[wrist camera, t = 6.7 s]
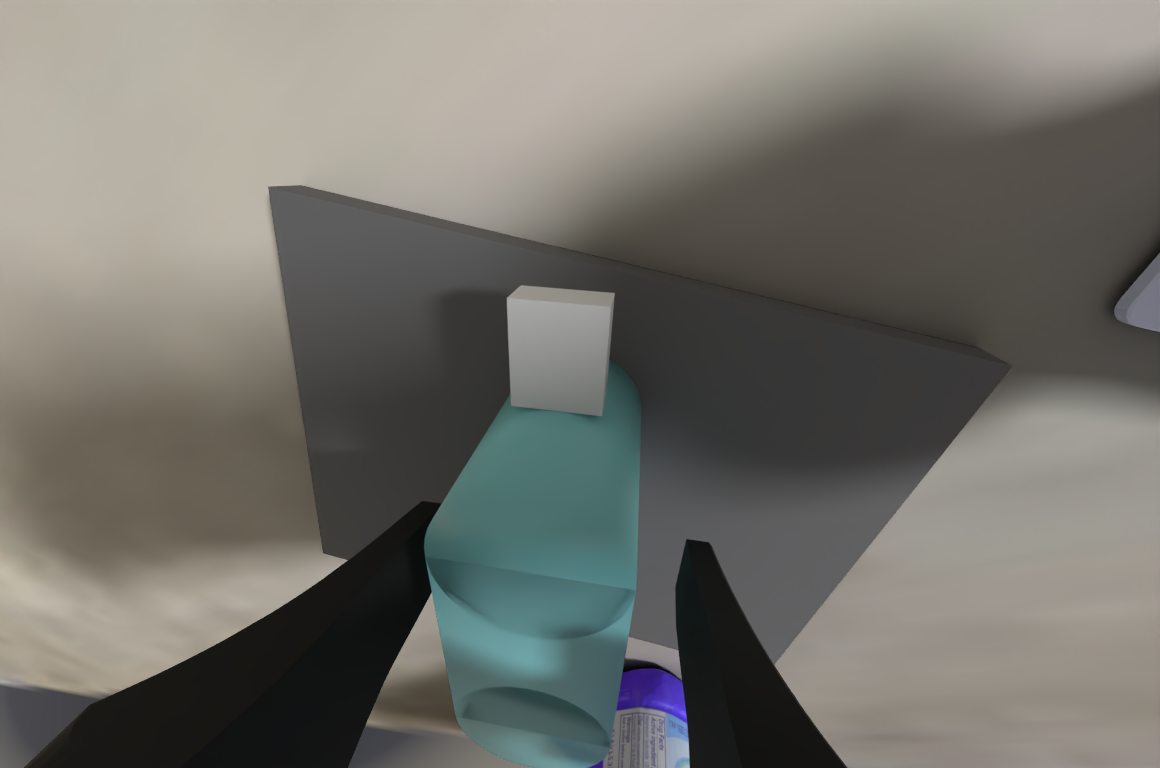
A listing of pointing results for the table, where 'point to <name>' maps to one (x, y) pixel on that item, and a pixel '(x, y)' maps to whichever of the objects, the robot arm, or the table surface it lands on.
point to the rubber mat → (664, 382)
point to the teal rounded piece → (544, 542)
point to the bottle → (649, 723)
